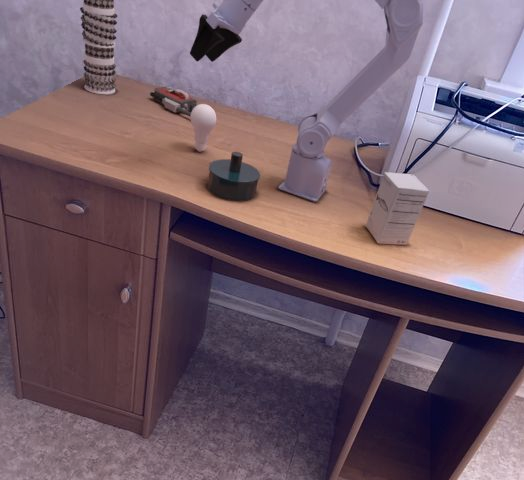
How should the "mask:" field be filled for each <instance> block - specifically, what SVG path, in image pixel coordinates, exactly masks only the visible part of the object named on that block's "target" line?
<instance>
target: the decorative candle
mask: <svg viewBox="0 0 524 480" xmlns="http://www.w3.org/2000/svg"><path fill="white" fill-rule="evenodd" d="M79 9H80V12H81V14H82V15H81V17H80V20H81V23H80V26H81V28H82V29H83V30H82V32H81V35H82V37H83V38H82V42H83V43H84V58H83V59H84V60H83V64H84V65H83V70H84V73H83V77H84V80H83V83H84V85H83V86H84V87H83V88H84V89H85V91H88V92H90V93H93V94H97V95H113V94H115V93H116V87H117V86H116V85H117V84H116V76H115V75H116V70H115V69H116V67H117V65H116V64H115V50H114V49H115V47H116V46H117V45H116V42H115V40H117V36H116V35H115V34H116V33H117V32H118V31H117V29H116V28H115V27H114V26H116V25H117V24H118V21H116V19H117V18H118V14H117V13H115V11H116V9H115V0H83V2H82V6H81V7H79Z"/></svg>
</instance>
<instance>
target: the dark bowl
mask: <svg viewBox="0 0 524 480" xmlns="http://www.w3.org/2000/svg"><path fill="white" fill-rule="evenodd" d="M208 173H209V174H208V179H207V180H208V181H207V188H208V191H209V192H210V193H212V194H213V195H215V196H216V197H218V198H221V199H224V200H227V201H233V202H245V201H250V200H252V199H254V198H255V196H256V194H257V189H258V183H259V180H258V181H257V182H255V183H251V184H236V183H230V182H226V181H223V180H221V179H219V178H217V177H215V176H214V175H212V174H211V173H210V171H208Z"/></svg>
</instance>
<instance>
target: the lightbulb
mask: <svg viewBox="0 0 524 480" xmlns="http://www.w3.org/2000/svg"><path fill="white" fill-rule="evenodd" d="M196 105H197V106H196V107H194V109H193V110H192V111H190V113H191V116H189V117H190V123H191V125H192V127H193V132H194V140H195V142H194V149H195V150H197V152H200V153H201V152H204V151H205V150H206V147H207V142H209V137H210V134H211V132H212V131H213V129H214V127H215V126H216V123H217V113H216V112H215V110H214V108H212V107H211V106H210V105H208V104H206V103H200V104H196Z"/></svg>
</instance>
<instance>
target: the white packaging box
mask: <svg viewBox="0 0 524 480" xmlns="http://www.w3.org/2000/svg"><path fill="white" fill-rule="evenodd" d="M429 193H430V189H429V188H428V187H426V186H425V184H424V183H422V181H421V180H420V179H419V178H417V176H416V175H415V174H411V173H401V172H390V171H385V172H384V173H383V175H382V178H381V181H380V183H379V186H378V189H377V193H376V195H375V197H374V201H373V203H372V205H371V209H370V211H369V215H368V218H367V220H366V224H365V228H367V230H368V231H369V233H370V234H371V235H372V237H373V238H374V240H375V241H376V243H377V244H382V245H397V246H398V245H399V246H407V245H408V244H409V240H410V238H411V236H412V233H413V230H414V229H415V226H416V224H417V221H418V219H419V217H420V215H421V212H422V210H423V207H424V205H425V203H426V200H427V199H428V195H429Z"/></svg>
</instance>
